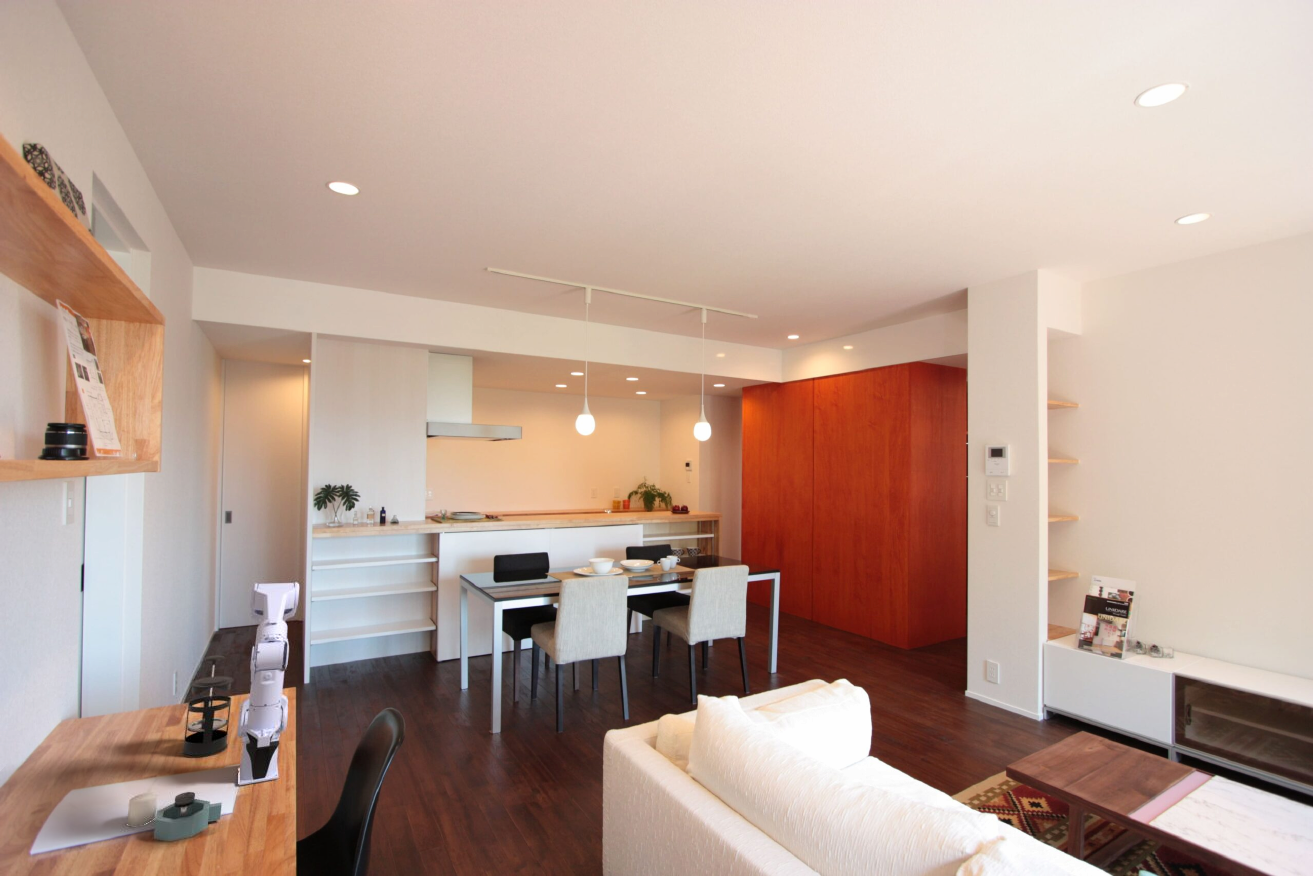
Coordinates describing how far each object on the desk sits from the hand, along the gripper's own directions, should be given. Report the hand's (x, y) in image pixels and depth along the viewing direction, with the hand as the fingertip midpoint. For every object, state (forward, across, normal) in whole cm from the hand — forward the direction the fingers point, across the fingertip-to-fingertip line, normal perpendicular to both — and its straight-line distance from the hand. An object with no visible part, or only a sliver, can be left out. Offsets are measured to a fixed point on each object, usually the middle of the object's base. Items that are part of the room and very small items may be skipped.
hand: (258, 770), depth 129 cm
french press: (+10, -44, -10) cm, 46 cm away
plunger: (+10, -3, -12) cm, 16 cm away
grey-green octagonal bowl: (+10, -3, -12) cm, 16 cm away
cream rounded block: (+10, -10, -19) cm, 24 cm away
